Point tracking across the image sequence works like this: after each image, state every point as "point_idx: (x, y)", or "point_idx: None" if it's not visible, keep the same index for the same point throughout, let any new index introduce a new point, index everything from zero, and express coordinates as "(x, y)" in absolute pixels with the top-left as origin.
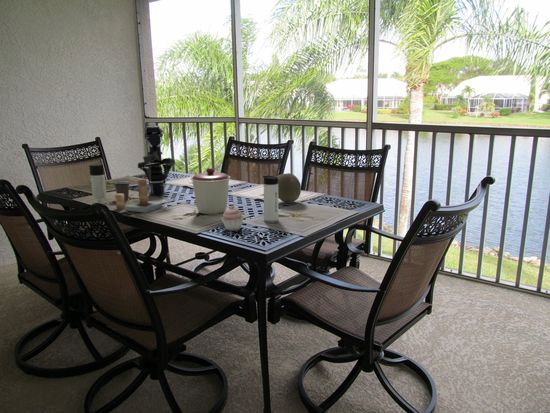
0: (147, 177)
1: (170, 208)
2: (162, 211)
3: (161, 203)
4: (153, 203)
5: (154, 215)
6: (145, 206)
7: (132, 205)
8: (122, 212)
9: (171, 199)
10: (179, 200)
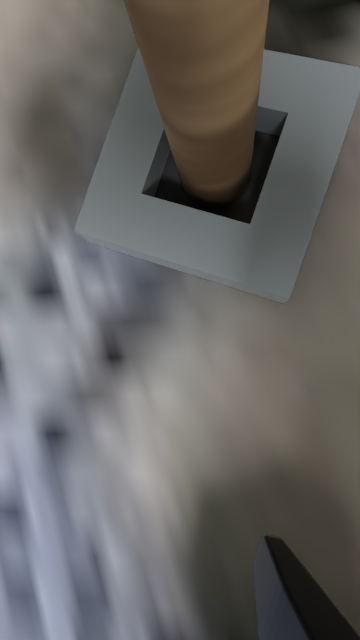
0: (344, 625)
1: (14, 201)
2: (47, 111)
3: (76, 226)
4: (139, 200)
5: (70, 3)
6: None
7: (310, 105)
8: (352, 31)
9: (85, 514)
10: (9, 472)
